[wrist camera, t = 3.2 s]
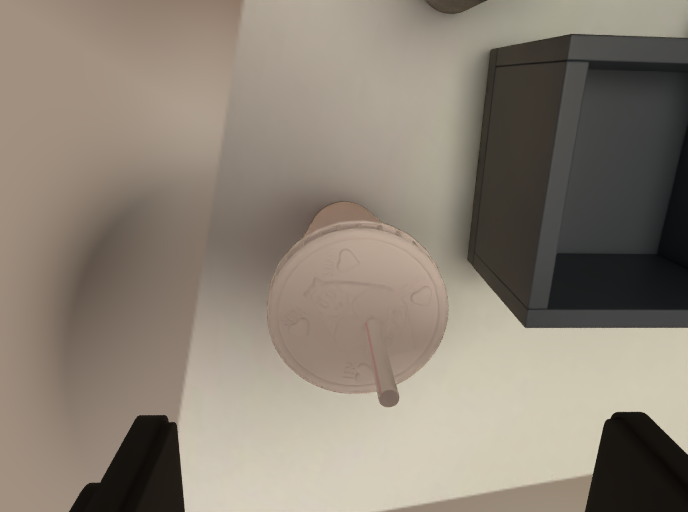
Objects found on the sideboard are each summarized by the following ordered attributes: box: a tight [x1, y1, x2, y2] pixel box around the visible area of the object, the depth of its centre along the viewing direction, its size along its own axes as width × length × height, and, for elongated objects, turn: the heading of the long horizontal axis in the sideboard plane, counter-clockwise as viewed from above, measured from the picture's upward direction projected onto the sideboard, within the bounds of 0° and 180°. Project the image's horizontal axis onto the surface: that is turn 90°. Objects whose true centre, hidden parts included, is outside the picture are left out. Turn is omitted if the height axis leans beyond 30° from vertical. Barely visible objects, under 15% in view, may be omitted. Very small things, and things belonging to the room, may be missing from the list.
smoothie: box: [267, 202, 448, 407], centre depth 20 cm, size 6×6×14 cm
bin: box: [468, 34, 688, 328], centre depth 22 cm, size 11×11×8 cm
